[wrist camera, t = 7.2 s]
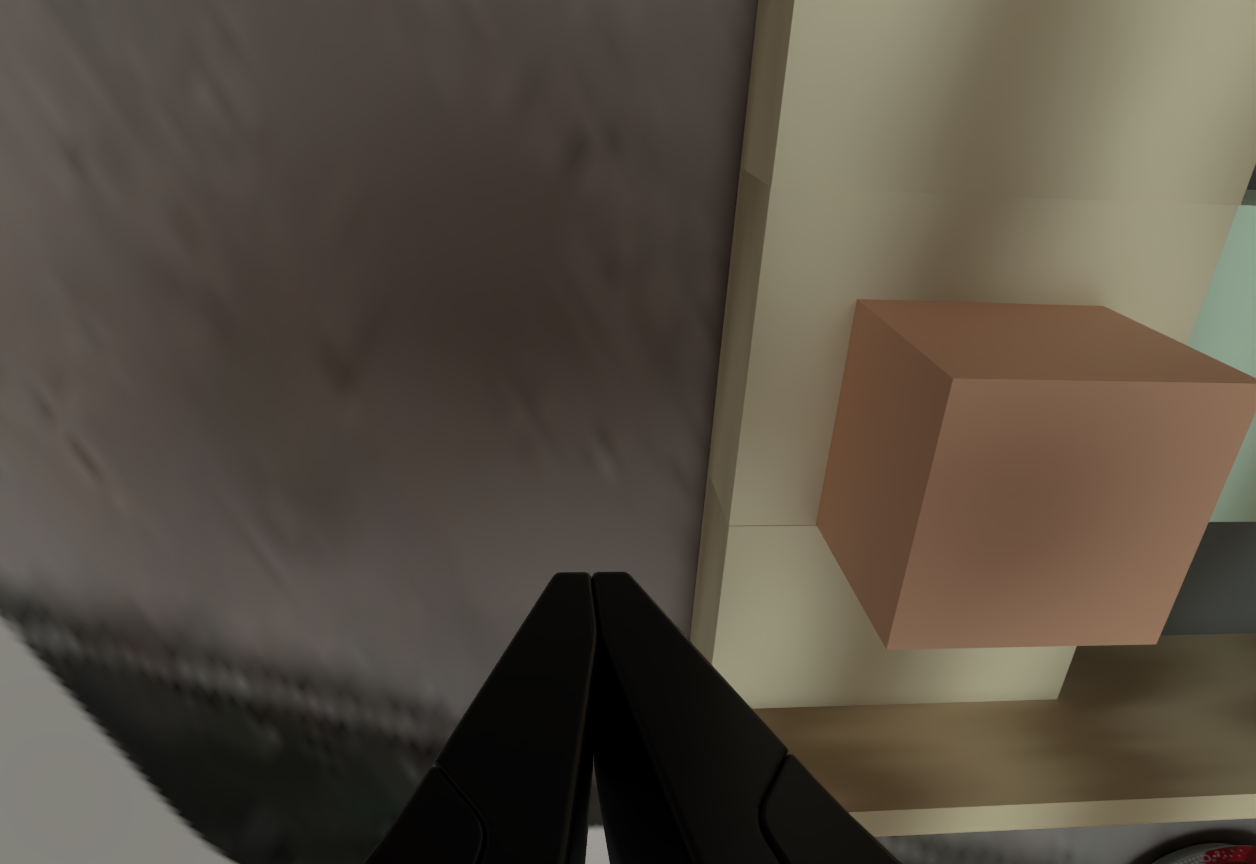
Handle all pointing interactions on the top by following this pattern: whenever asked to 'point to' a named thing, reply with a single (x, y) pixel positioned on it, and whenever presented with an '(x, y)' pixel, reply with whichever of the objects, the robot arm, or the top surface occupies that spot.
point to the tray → (987, 273)
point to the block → (1023, 472)
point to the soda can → (1211, 854)
